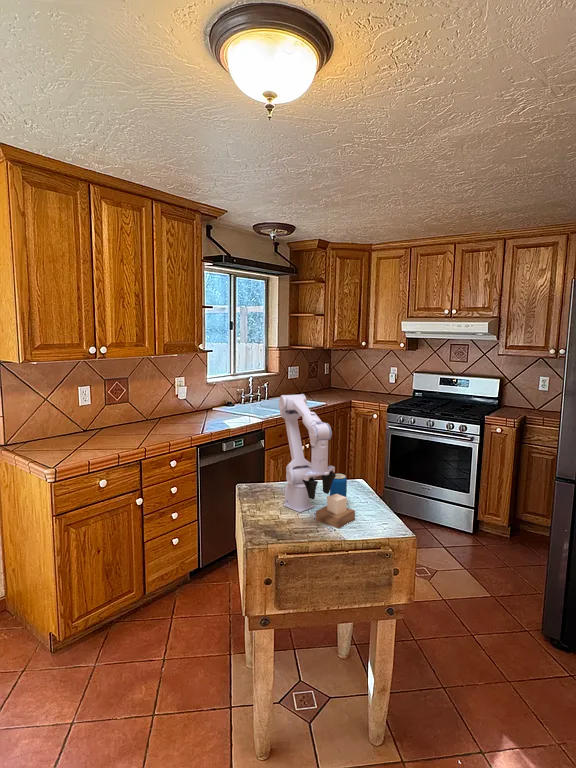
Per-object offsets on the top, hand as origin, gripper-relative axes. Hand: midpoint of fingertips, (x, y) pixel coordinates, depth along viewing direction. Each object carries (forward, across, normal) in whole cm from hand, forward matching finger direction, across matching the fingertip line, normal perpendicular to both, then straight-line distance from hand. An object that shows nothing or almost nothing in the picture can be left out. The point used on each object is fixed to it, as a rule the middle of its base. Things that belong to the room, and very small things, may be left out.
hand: (318, 495), depth 159 cm
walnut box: (+11, +7, -2) cm, 13 cm away
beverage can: (+11, +18, +6) cm, 22 cm away
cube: (+7, +7, -2) cm, 10 cm away
